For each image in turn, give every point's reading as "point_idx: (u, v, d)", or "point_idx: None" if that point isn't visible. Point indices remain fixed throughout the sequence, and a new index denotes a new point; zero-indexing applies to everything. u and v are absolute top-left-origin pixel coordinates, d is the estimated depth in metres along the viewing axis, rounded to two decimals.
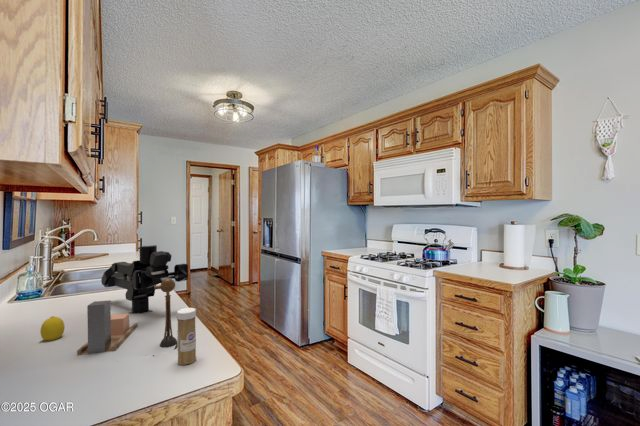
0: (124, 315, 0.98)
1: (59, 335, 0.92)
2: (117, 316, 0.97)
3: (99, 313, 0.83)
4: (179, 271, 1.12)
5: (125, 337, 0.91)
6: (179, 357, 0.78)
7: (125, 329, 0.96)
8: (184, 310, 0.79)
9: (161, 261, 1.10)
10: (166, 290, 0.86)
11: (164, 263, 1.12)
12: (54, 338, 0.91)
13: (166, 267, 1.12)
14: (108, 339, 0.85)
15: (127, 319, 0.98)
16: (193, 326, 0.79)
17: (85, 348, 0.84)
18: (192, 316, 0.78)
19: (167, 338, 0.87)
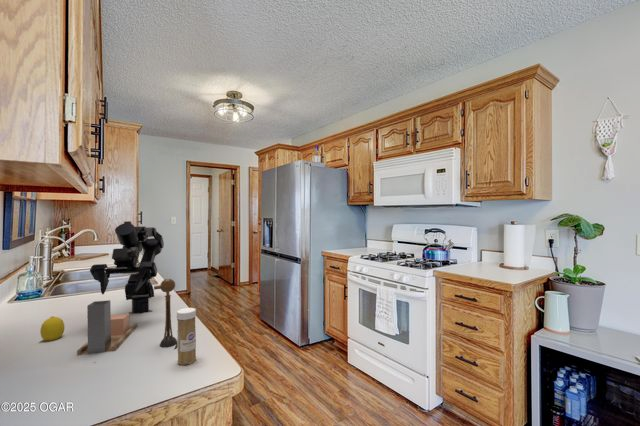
0: (124, 315, 0.98)
1: (59, 335, 0.92)
2: (117, 316, 0.97)
3: (99, 313, 0.83)
4: None
5: (125, 337, 0.91)
6: (179, 357, 0.78)
7: (125, 329, 0.96)
8: (184, 310, 0.79)
9: (123, 259, 1.01)
10: (166, 290, 0.86)
11: (129, 259, 1.02)
12: (54, 338, 0.91)
13: (131, 263, 1.03)
14: (108, 339, 0.85)
15: (127, 319, 0.98)
16: (193, 326, 0.79)
17: (85, 348, 0.84)
18: (192, 316, 0.78)
19: (167, 338, 0.87)
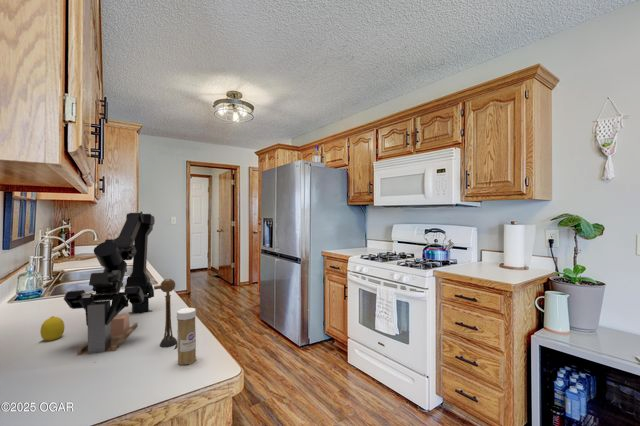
0: (124, 315, 0.98)
1: (59, 335, 0.92)
2: (117, 316, 0.97)
3: (99, 313, 0.83)
4: None
5: (125, 337, 0.91)
6: (179, 357, 0.78)
7: (125, 329, 0.96)
8: (184, 310, 0.79)
9: (103, 284, 0.86)
10: (166, 290, 0.86)
11: (110, 285, 0.87)
12: (54, 338, 0.91)
13: (113, 288, 0.88)
14: (108, 339, 0.85)
15: (127, 319, 0.98)
16: (193, 326, 0.79)
17: (85, 348, 0.84)
18: (192, 316, 0.78)
19: (167, 338, 0.87)
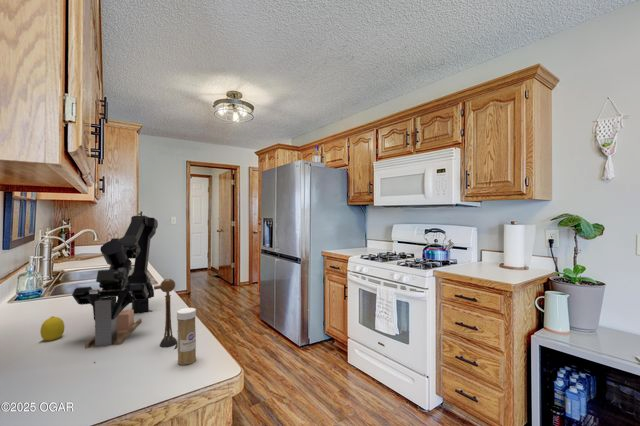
0: (129, 311, 1.02)
1: (59, 335, 0.92)
2: (122, 312, 1.01)
3: (106, 308, 0.87)
4: None
5: (130, 332, 0.95)
6: (179, 357, 0.78)
7: (129, 324, 1.01)
8: (184, 310, 0.79)
9: (109, 281, 0.91)
10: (166, 290, 0.86)
11: (116, 281, 0.92)
12: (54, 338, 0.91)
13: (118, 285, 0.93)
14: (114, 333, 0.89)
15: (132, 315, 1.03)
16: (193, 326, 0.79)
17: (92, 342, 0.88)
18: (192, 316, 0.78)
19: (167, 338, 0.87)
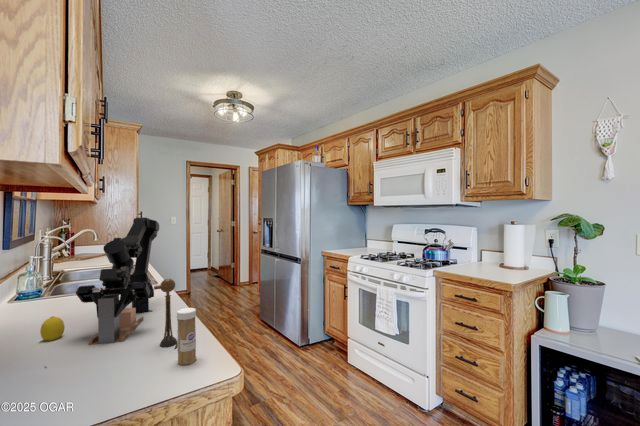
0: (131, 309, 1.04)
1: (59, 335, 0.92)
2: (124, 310, 1.03)
3: (109, 306, 0.89)
4: None
5: (132, 329, 0.97)
6: (179, 357, 0.78)
7: (132, 322, 1.03)
8: (184, 310, 0.79)
9: (112, 280, 0.93)
10: (166, 290, 0.86)
11: (118, 280, 0.94)
12: (54, 338, 0.91)
13: (121, 284, 0.95)
14: (117, 331, 0.91)
15: (134, 313, 1.05)
16: (193, 326, 0.79)
17: (96, 339, 0.90)
18: (192, 316, 0.78)
19: (167, 338, 0.87)
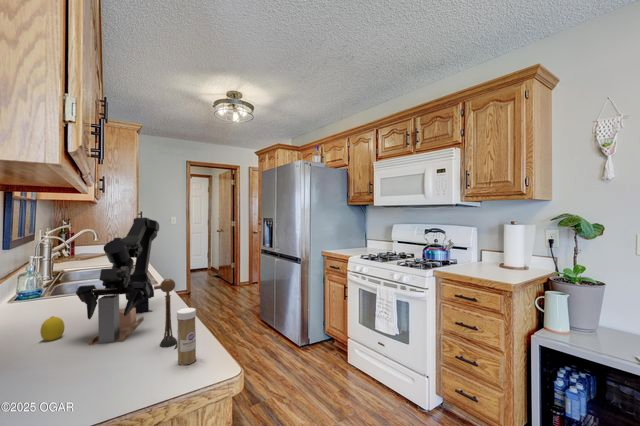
0: None
1: (59, 335, 0.92)
2: (124, 310, 1.03)
3: (109, 306, 0.89)
4: None
5: (132, 329, 0.97)
6: (179, 357, 0.78)
7: (132, 322, 1.03)
8: (184, 310, 0.79)
9: (112, 280, 0.93)
10: (166, 290, 0.86)
11: (118, 280, 0.94)
12: (54, 338, 0.91)
13: (121, 283, 0.95)
14: (117, 331, 0.91)
15: (134, 313, 1.05)
16: (193, 326, 0.79)
17: (96, 339, 0.90)
18: (192, 316, 0.78)
19: (167, 338, 0.87)
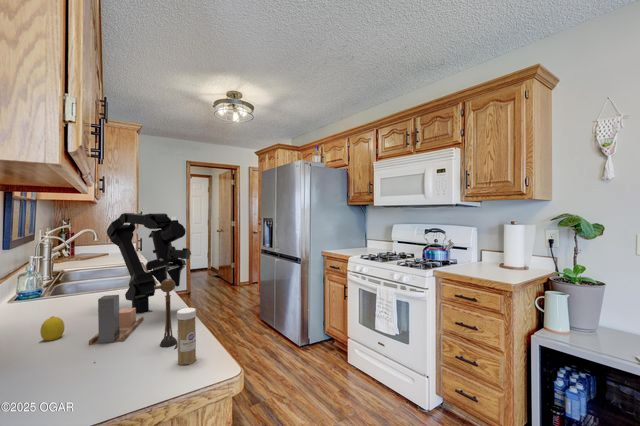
0: (131, 309, 1.04)
1: (59, 335, 0.92)
2: (124, 310, 1.03)
3: (109, 306, 0.89)
4: (177, 270, 1.16)
5: (132, 329, 0.97)
6: (179, 357, 0.78)
7: (132, 322, 1.03)
8: (184, 310, 0.79)
9: None
10: (166, 290, 0.86)
11: None
12: (54, 338, 0.91)
13: (176, 259, 1.14)
14: (117, 331, 0.91)
15: (134, 313, 1.05)
16: (193, 326, 0.79)
17: (96, 339, 0.90)
18: (192, 316, 0.78)
19: (167, 338, 0.87)
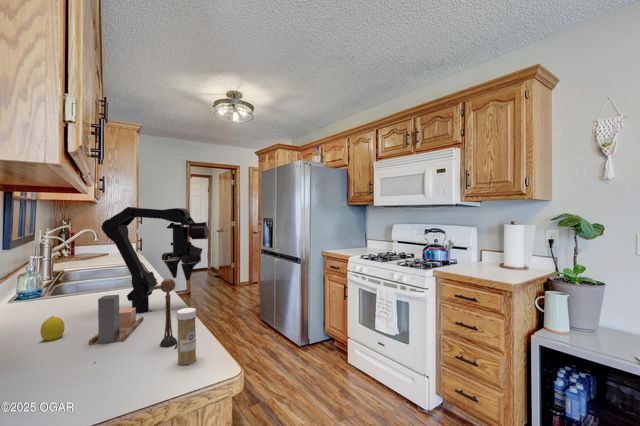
0: (131, 309, 1.04)
1: (59, 335, 0.92)
2: (124, 310, 1.03)
3: (109, 306, 0.89)
4: (176, 263, 1.24)
5: (132, 329, 0.97)
6: (179, 357, 0.78)
7: (132, 322, 1.03)
8: (184, 310, 0.79)
9: None
10: (166, 290, 0.86)
11: None
12: (54, 338, 0.91)
13: None
14: (117, 331, 0.91)
15: (134, 313, 1.05)
16: (193, 326, 0.79)
17: (96, 339, 0.90)
18: (192, 316, 0.78)
19: (167, 338, 0.87)
